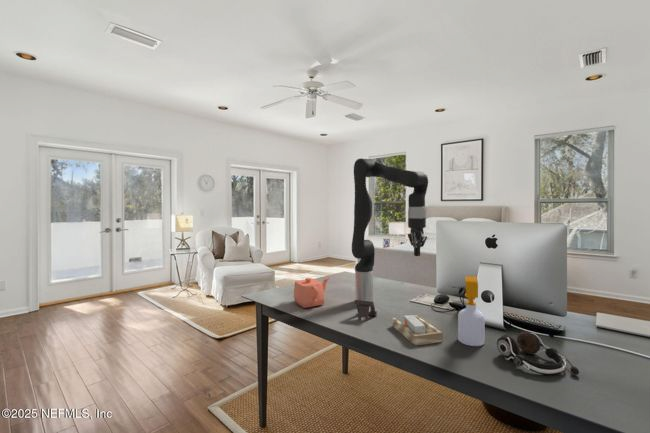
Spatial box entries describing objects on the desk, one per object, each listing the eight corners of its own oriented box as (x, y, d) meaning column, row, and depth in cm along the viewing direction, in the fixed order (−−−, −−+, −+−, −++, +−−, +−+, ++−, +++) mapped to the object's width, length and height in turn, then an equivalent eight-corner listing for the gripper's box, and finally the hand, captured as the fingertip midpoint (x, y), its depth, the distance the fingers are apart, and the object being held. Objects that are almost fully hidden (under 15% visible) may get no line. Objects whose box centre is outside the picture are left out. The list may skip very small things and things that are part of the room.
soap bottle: (482, 337, 123) (482, 275, 122) (486, 348, 114) (486, 280, 113) (457, 335, 126) (457, 273, 125) (459, 345, 117) (459, 279, 116)
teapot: (339, 305, 165) (338, 279, 165) (304, 311, 157) (304, 284, 156) (322, 295, 183) (321, 271, 183) (290, 300, 175) (289, 276, 174)
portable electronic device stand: (377, 315, 149) (376, 298, 149) (372, 321, 142) (372, 303, 142) (359, 313, 153) (359, 296, 152) (353, 319, 146) (353, 301, 145)
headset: (530, 325, 114) (590, 359, 96) (527, 344, 116) (585, 381, 97) (492, 332, 109) (548, 369, 90) (489, 352, 110) (544, 393, 92)
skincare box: (403, 315, 132) (414, 326, 121) (413, 314, 133) (425, 325, 121) (403, 329, 133) (415, 342, 121) (413, 329, 133) (425, 341, 121)
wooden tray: (392, 326, 137) (392, 318, 136) (416, 323, 139) (416, 315, 139) (415, 345, 118) (415, 336, 118) (442, 341, 121) (442, 332, 120)
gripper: (401, 216, 146) (402, 254, 147) (416, 218, 133) (417, 259, 134) (416, 216, 148) (417, 253, 149) (432, 217, 135) (433, 257, 136)
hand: (417, 255), depth 141 cm, fingers closed
